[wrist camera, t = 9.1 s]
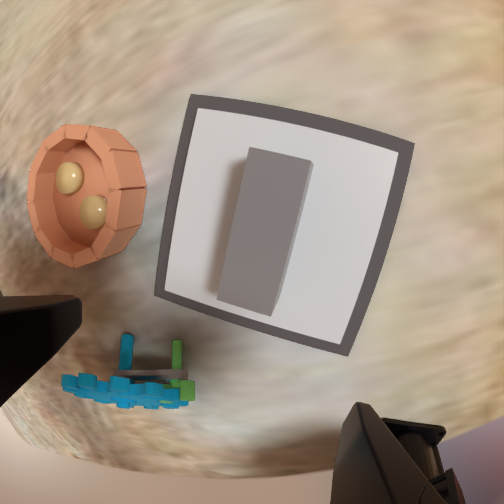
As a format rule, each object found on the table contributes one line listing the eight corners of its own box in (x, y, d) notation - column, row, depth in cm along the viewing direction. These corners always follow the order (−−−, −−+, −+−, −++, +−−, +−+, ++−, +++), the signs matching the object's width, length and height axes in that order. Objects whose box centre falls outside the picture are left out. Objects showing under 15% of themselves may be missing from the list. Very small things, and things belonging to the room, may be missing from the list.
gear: (108, 412, 25) (33, 388, 17) (112, 355, 28) (45, 314, 20) (218, 415, 23) (165, 398, 15) (216, 349, 27) (168, 302, 19)
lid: (396, 153, 16) (412, 146, 13) (339, 340, 19) (340, 370, 16) (201, 109, 18) (176, 96, 15) (168, 287, 21) (141, 305, 18)
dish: (157, 135, 20) (132, 129, 17) (135, 272, 22) (111, 285, 19) (62, 125, 21) (37, 123, 18) (49, 239, 24) (25, 245, 21)
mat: (412, 144, 16) (414, 143, 16) (347, 353, 20) (347, 356, 19) (193, 95, 18) (190, 93, 18) (157, 293, 22) (154, 295, 22)
